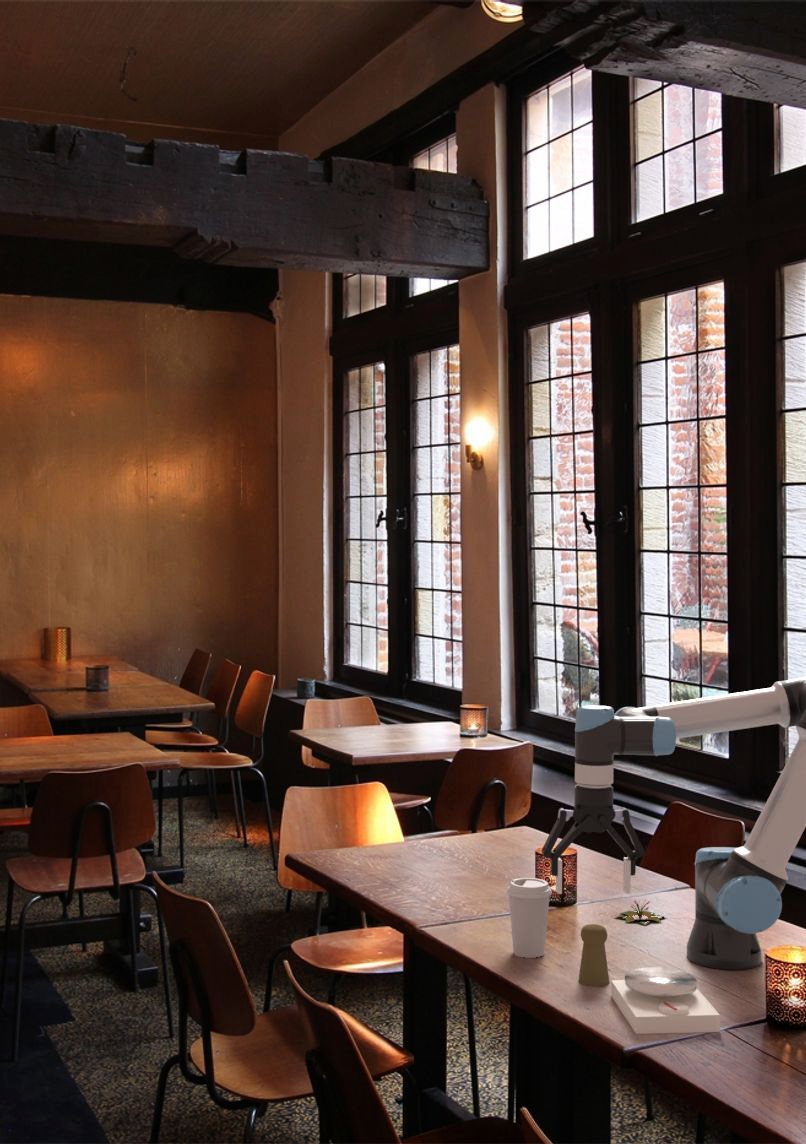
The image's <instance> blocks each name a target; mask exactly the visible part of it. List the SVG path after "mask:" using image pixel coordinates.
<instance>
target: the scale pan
mask: <svg viewBox="0 0 806 1144" xmlns="http://www.w3.org/2000/svg"><path fill="white" fill-rule="evenodd" d="M624 980H625V985H626V987H627V988H629V989H630V990H632V991H634V992H637V993H640V994H643V995H648V996H654V997H681V996H686V995H689V994H692V993H693V992H695V991H696V989H698V986H697V984H698V983H697V978H696V977H695V976H694V975H692V974H690V973H689V972H686V971H684V970H683V971H682V970H680V969H675V968H671V967H661V966H648V967H639V968H634V969H631V970H629V971H627V972H626V973H625V975H624Z"/></svg>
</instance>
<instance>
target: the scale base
mask: <svg viewBox="0 0 806 1144" xmlns="http://www.w3.org/2000/svg"><path fill="white" fill-rule="evenodd" d="M610 983H611V985H610V989H611V991H610V993H611V994H610V996H611V998H612V999H613V1001H614V1003H615V1004H616V1006H617V1007H618V1009H619V1011H621V1013H622V1015H623V1017H624V1018H625V1019H626V1021H627V1022H628V1024H629V1025H630V1027H631V1028H632V1030H633V1032H634V1033H635V1034H636V1035H650V1034H651V1035H652V1034H686V1033H687V1034H689V1033H693V1034H694V1033H695V1034H696V1033H721V1014H720V1013H719V1012H718V1011H717V1009H715V1008H714V1006H713V1005H712V1004H711V1003H710V1002H709V1001H708V999H707V998H706V997H705V996H704V994H702V993H701V991H700V990H699V989H698V988H697V989H696V991H695V992H693V993H692V994H689V995H686V996H681V997H654V996H648V995H643V994H640V993H637V992H634V991H632V990H630V989H629V988H627V987H626V985H625V979H612V980H611V981H610Z"/></svg>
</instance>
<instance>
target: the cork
mask: <svg viewBox="0 0 806 1144" xmlns="http://www.w3.org/2000/svg"><path fill="white" fill-rule="evenodd" d="M580 938H581V941H583V943H582V951H581V959H580V965H579V966H580V968H579V973H578V982H579V984H581V983H582V985H585V986H587V987H588V986H589V987H604V985H605V986H607V985H608V984H610V976H609V970H608V969H609V968H608V960H607V953H606V944H605V943H606V942H607V939H608V931H607V929H606V927H605V926H603V925H601V924H598V923H597V924H594V923H590V924H589V923H588V924H585V925H584V926H582V928H581V930H580Z"/></svg>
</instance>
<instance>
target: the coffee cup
mask: <svg viewBox="0 0 806 1144" xmlns="http://www.w3.org/2000/svg"><path fill="white" fill-rule="evenodd" d="M505 893H506V895H508V901H509V915H510V925H511V935H512V936H511V937H512V938H511V939H512V949H513V955H514V956H516V957H519V958H523V957H525V958H524V959H537V958H536V957H538V958H541V957H540V956H542V957H543V956H544V955H545V951H546V950H545V949H546V940H547V929H548V928H547V926H548V918H549V917H548V915H549V905H550V896H551V895H552V893H553V892H552V889H551V887H550V886H549V883H548V881H547V880H545V879H542V878H541V879H540V878H535V877H520V878H514V879H512V880H511V881H510V882H509V885H508V886H507V888H506V892H505Z"/></svg>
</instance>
